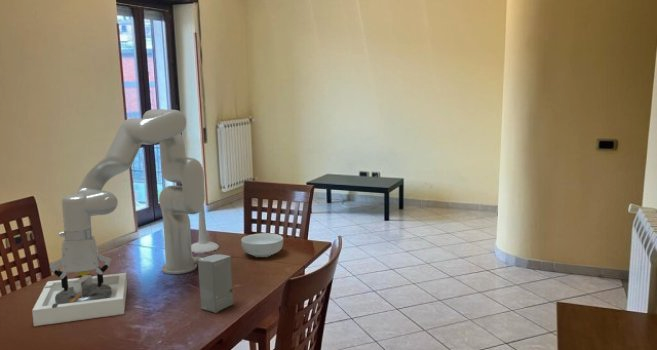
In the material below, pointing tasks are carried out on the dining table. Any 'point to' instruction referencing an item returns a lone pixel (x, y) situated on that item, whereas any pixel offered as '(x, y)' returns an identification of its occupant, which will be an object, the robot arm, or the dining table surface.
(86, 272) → the lemon
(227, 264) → the skincare box
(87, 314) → the dial housing
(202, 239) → the candlestick
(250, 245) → the cereal bowl
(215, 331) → the dining table surface
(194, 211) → the robot arm
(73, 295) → the dial
